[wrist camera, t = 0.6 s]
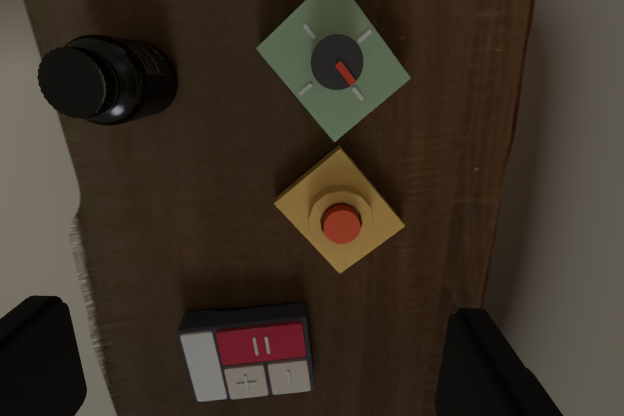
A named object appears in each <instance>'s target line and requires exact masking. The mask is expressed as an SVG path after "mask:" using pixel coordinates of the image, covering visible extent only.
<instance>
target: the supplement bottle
mask: <svg viewBox="0 0 624 416" xmlns="http://www.w3.org/2000/svg"><path fill="white" fill-rule="evenodd" d="M37 78H38V80H39V86H40V88H41V92H42V93H43V94H44V97H45V99H46V100H48V103H49V104H50V105H52V106H53V108H54V109H56V110H58V111H59V112H60V113H62V114H65V115H66V116H71V117H72V118H80V119H85V120H87V121H90V122H92V123H95V124H99V125H107V126H110V125H118V124H122V123H126V122H129V121H133V120H136V119H139V118H143V117H146V116H150V115H153V114H156V113H159V112H161V111H163V110H164V109H166V108H167V107H168V106H169V105H170V104H171V103H172V101H173V100H174V98H175V95H176V92H177V86H178V80H177V74H176V71H175V68H174V66H173V64H172V62H171V60H170V59H169V58H168V56H167V55H166V54H165V53H164V52H163V51H162V50H160V49H159V48H158V47H156V46H154V45H152V44H150V43H147V42H143V41H137V40H131V39H124V38H117V37H110V36H103V35H84V36H80V37H77V38H75V39H73V40H72V41H70V42H69V43H68V44H66V45H65V47H63V48H61V47H58V48H56V49H55V50H51V51H50V53H47V54H46V55H45V57H44V58H42V62H41V63H40V64H39V69H38V77H37Z"/></svg>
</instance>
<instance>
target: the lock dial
mask: <svg viewBox="0 0 624 416" xmlns="http://www.w3.org/2000/svg"><path fill="white" fill-rule="evenodd" d="M311 68H312V72H313V75H314V77H315V78H316V80H317V81H318V82H319V83H320V84H321V85H322V86H324V87H325V88H327V89H331V90H343V89H346V88H348V87H350V86H351V85H353V84H354V83H355V82H356V81H357V80H358V78H359V76H360V75H361V72H362V69H363V54H362V51H361V49H360V47H359V45H358V44H357V43H356V42H355V41H354V40H353V39H352V38H350V37H348V36H346V35H342V34H334V35H330V36H327V37H325V38H324V39H322V40H321V41H320V42H319V43H318V44H317V46H316V47H315V49H314V51H313V53H312V57H311Z"/></svg>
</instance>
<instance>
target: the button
mask: <svg viewBox="0 0 624 416" xmlns="http://www.w3.org/2000/svg"><path fill="white" fill-rule="evenodd" d="M323 227H324V233H325V235H326V237H327V238H328V239H329V240H331V241H332V242H334V243H337V244H346V243H349V242H351V241H353V240H354V239H355V238H356V237H357V236H358V234H359V232H360V221H359V217H358V214H357V212H356V211H355V210H354V209H353V208H352V207H350V206H348V205H344V204H339V205H335V206H333V207H331V208H329V209H328V210H327V212H326V213H325V215H324V219H323Z"/></svg>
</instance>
